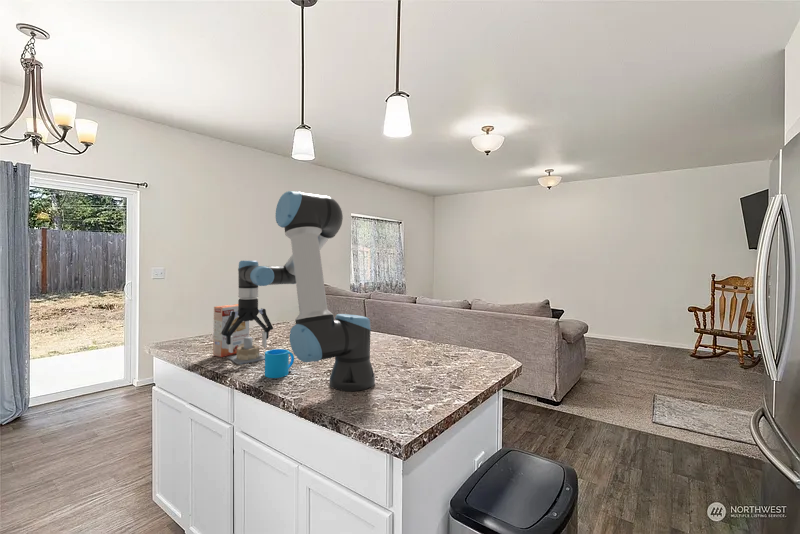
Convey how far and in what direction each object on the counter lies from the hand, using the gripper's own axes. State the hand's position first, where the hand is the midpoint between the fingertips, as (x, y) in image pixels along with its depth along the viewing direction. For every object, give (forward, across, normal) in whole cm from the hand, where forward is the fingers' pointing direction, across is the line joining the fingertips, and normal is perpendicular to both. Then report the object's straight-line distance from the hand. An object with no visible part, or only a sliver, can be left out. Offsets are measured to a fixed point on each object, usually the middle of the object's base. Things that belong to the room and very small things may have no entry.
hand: (248, 349), depth 153 cm
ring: (+3, 0, 0) cm, 3 cm away
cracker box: (+4, +2, -13) cm, 14 cm away
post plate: (+4, 0, 0) cm, 4 cm away
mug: (+4, -2, +26) cm, 26 cm away
